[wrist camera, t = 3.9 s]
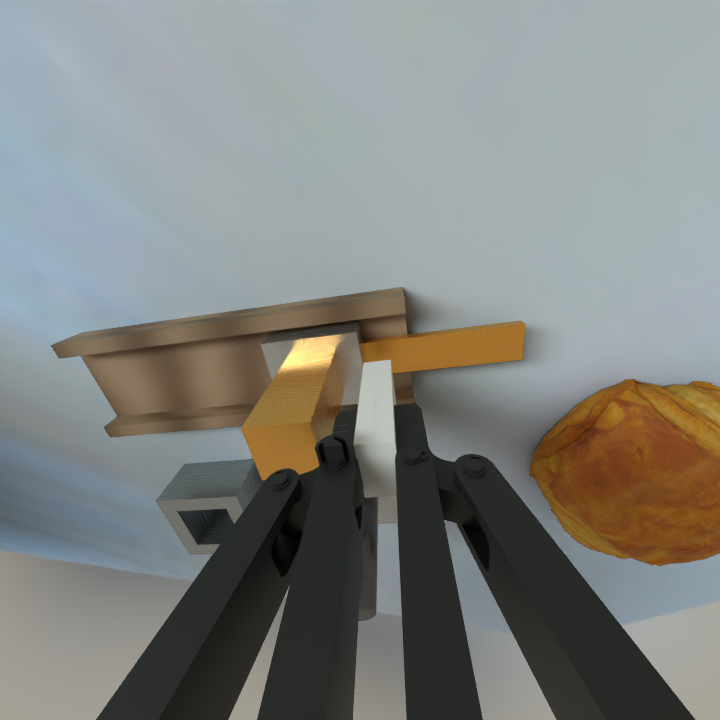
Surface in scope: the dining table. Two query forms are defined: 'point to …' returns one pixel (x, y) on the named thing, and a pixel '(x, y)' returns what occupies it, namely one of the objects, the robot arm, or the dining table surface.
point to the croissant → (638, 472)
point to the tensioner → (348, 379)
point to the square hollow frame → (208, 501)
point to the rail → (216, 360)
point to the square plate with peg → (373, 549)
